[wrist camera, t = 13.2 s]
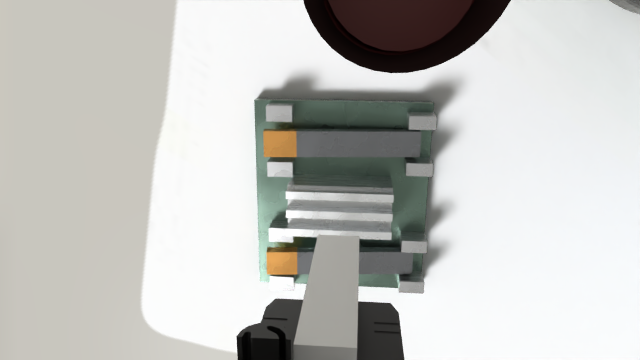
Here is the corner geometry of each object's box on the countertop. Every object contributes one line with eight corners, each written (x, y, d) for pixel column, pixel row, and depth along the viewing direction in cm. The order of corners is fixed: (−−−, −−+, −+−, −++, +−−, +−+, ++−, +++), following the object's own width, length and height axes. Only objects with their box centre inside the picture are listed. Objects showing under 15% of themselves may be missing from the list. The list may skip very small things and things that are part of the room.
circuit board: (432, 101, 39) (441, 111, 34) (418, 283, 44) (425, 314, 39) (257, 98, 40) (242, 107, 36) (262, 276, 45) (250, 305, 40)
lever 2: (410, 246, 42) (413, 252, 41) (409, 268, 42) (411, 274, 41) (267, 247, 41) (266, 252, 40) (267, 268, 42) (267, 274, 41)
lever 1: (418, 129, 39) (421, 131, 38) (417, 154, 39) (419, 157, 38) (264, 128, 38) (263, 131, 38) (264, 153, 39) (263, 157, 38)
